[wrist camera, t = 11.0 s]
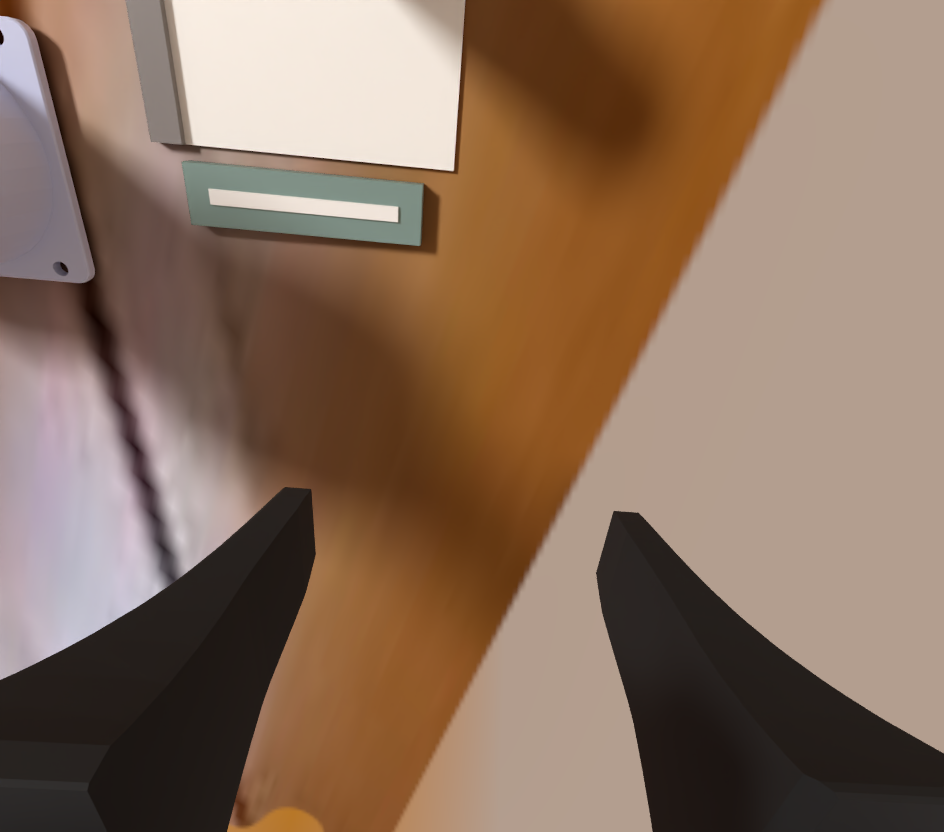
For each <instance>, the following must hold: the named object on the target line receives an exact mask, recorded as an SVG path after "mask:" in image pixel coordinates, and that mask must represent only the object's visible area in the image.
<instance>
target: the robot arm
mask: <svg viewBox="0 0 944 832" xmlns="http://www.w3.org/2000/svg"><path fill="white" fill-rule="evenodd" d="M0 30H1V32H2V34H3V36H4V43H3V44H2V45H1V44H0V276H2V277H14V278H25V279H37V280H48V281H59V282H71V283H85V282H87V281H89V280H91V279H92V278H93V277H94V275H95V268H94V264H93V260H92V256H91V252H90V248H89V244H88V240H87V236H86V232H85V228H84V225H83V221H82V217H81V213H80V209H79V205H78V201H77V197H76V193H75V189H74V185H73V181H72V177H71V173H70V169H69V165H68V161H67V157H66V153H65V149H64V145H63V141H62V137H61V133H60V129H59V125H58V121H57V117H56V113H55V109H54V105H53V101H52V97H51V94H50V90H49V86H48V82H47V78H46V74H45V70H44V66H43V62H42V58H41V54H40V50H39V46H38V42H37V39H36V36H35V34H34V32H33V31H32V30H31V28H30V27H29V26H28V25H27V24H26V23H24V22H23V21H21V20H18V19H15V18H10V17H3V16H0ZM60 262H62V263H64V264H65V265H66V266H67V268H68V273H67V272H65V271H64V270H63V269H62V268H61V266H60ZM315 555H316V552H315V537H314V523H313V509H312V494H311V489H302V488H288V487H285V488H283V489H282V490H281V491H280V492H279V493H278V494H277V495H275V496H274V497H273V498H272V499H271V500H270V501H269V502H268V503H267V504H266V505H265V506H264V507H263V508H262V509H261V510H260V511H258V512H257V513H256V514H255V515H254V516H253V517H252V518H251V519H250V520H249V521H248V522H247V523H246V524H244V525H243V526H242V527H241V528H240V529H239V530H238V531H237V532H235V533H234V534H233V535H232V536H231V537H230V538H229V539H227V540H226V541H225V542H224V543H223V544H222V545H221V546H219V547H218V548H217V549H216V550H215V551H213V552H212V553H211V554H210V555H208V556H207V557H206V558H205V559H203V560H202V561H201V562H200V563H198V564H197V565H196V566H195V567H193V568H192V569H191V570H190V571H188V572H187V573H186V574H185V575H183V576H182V577H180V578H179V579H178V580H176V581H175V582H174V583H172V584H171V585H170V586H168V587H167V588H165V589H164V590H162V591H161V592H159V593H158V594H157V595H155V596H154V597H152V598H151V599H149V600H148V601H146V602H145V603H143V604H142V605H140V606H138V607H137V608H135V609H133V610H132V611H130V612H128V613H127V614H125V615H123V616H122V617H120V618H118V619H117V620H115V621H113V622H112V623H110V624H108V625H107V626H105V627H103V628H102V629H100V630H98V631H97V632H95V633H93V634H91V635H90V636H88V637H86V638H84V639H82V640H80V641H79V642H77V643H75V644H73V645H71V646H69V647H67V648H65V649H64V650H62V651H60V652H58V653H56V654H54V655H52V656H50V657H48V658H46V659H44V660H42V661H40V662H38V663H36V664H34V665H32V666H30V667H28V668H26V669H23V670H21V671H19V672H17V673H15V674H13V675H11V676H8V677H6V678H4V679H2V680H0V832H227V829H228V825H229V821H230V818H231V814H232V810H233V806H234V802H235V798H236V795H237V791H238V788H239V784H240V780H241V777H242V773H243V769H244V766H245V762H246V759H247V755H248V751H249V748H250V744H251V741H252V738H253V734H254V731H255V727H256V724H257V721H258V717H259V714H260V710H261V707H262V704H263V701H264V698H265V695H266V692H267V690H268V687H269V684H270V681H271V679H272V676H273V674H274V671H275V669H276V666H277V664H278V661H279V659H280V656H281V654H282V651H283V649H284V646H285V644H286V641H287V639H288V636H289V634H290V632H291V629H292V627H293V624H294V622H295V619H296V616H297V614H298V611H299V609H300V606H301V604H302V601H303V599H304V596H305V593H306V590H307V586H308V582H309V579H310V575H311V571H312V567H313V563H314V559H315ZM596 574H597V582H598V589H599V596H600V602H601V608H602V613H603V617H604V620H605V624H606V628H607V631H608V635H609V638H610V642H611V645H612V648H613V652H614V655H615V659H616V662H617V665H618V669H619V672H620V675H621V679H622V682H623V685H624V689H625V693H626V696H627V699H628V703H629V707H630V711H631V714H632V718H633V723H634V728H635V733H636V738H637V743H638V749H639V753H640V759H641V764H642V769H643V776H644V782H645V787H646V793H647V799H648V805H649V811H650V817H651V823H652V830H653V832H944V753H942V752H940V751H938V750H936V749H935V748H933V747H931V746H929V745H928V744H926V743H924V742H922V741H921V740H919V739H917V738H915V737H913V736H912V735H910V734H908V733H906V732H905V731H903V730H901V729H899V728H898V727H896V726H894V725H892V724H890V723H889V722H887V721H885V720H884V719H882V718H880V717H879V716H877V715H875V714H874V713H872V712H871V711H869V710H867V709H866V708H864V707H863V706H861V705H859V704H858V703H856V702H854V701H853V700H852V699H850V698H848V697H847V696H845V695H844V694H842V693H841V692H839V691H838V690H836V689H835V688H833V687H832V686H830V685H829V684H827V683H826V682H824V681H823V680H821V679H820V678H819V677H817V676H816V675H814V674H813V673H812V672H810V671H809V670H807V669H806V668H805V667H803V666H802V665H801V664H799V663H798V662H796V661H795V660H794V659H792V658H791V657H789V656H788V655H787V654H785V653H784V652H783V651H782V650H780V649H779V648H778V647H776V646H775V645H774V644H773V643H771V642H770V641H769V640H768V639H767V638H765V637H764V636H763V635H762V634H760V633H759V632H758V631H757V630H756V629H754V628H753V627H752V626H751V625H749V624H748V623H747V622H746V621H745V620H744V619H743V618H741V617H740V616H739V615H738V614H737V613H736V612H735V611H733V610H732V609H731V608H730V607H729V606H728V605H727V604H726V603H725V602H724V601H723V600H722V599H721V598H720V597H718V596H717V595H716V594H715V593H714V592H713V591H712V590H711V589H710V588H709V587H708V586H707V585H706V584H705V583H704V582H703V581H702V580H701V579H700V578H699V577H698V576H697V575H696V574H695V573H694V572H693V571H692V570H691V569H690V568H689V567H688V566H687V565H686V564H685V562H684V561H683V560H682V559H681V558H680V557H679V556H678V555H677V554H676V553H675V552H674V551H673V550H672V549H671V547H670V546H669V545H668V544H667V543H666V542H665V541H664V540H663V539H662V538H661V536H660V535H659V534H658V533H657V532H656V531H655V530H654V529H653V528H652V527H651V525H650V524H649V523H648V522H647V521H646V520H645V519H644V518H643V517H642V516H641V515H640V514H639V513H633V512H619V511H614V512H613V515H612V519H611V522H610V526H609V530H608V533H607V536H606V540H605V544H604V548H603V551H602V554H601V558H600V561H599V565H598V569H597V572H596Z"/></svg>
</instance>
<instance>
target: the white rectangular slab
mask: <svg viewBox="0 0 944 832" xmlns="http://www.w3.org/2000/svg"><path fill="white" fill-rule="evenodd" d="M126 6H127V12H128V17H129V23H130V28H131V34H132V39H133V45H134V50H135V56H136V62H137V67H138V73H139V78H140V84H141V89H142V95H143V100H144V106H145V112H146V117H147V123H148V128H149V134H150V139H151V142H160V143H170V144H180V145H184V144H188V145H198V146H208V147H218V148H228V149H238V150H248V151H258V152H268V153H278V154H288V155H298V156H308V157H318V158H328V159H338V160H348V161H358V162H368V163H378V164H388V165H398V166H408V167H418V168H428V169H438V170H448V171H454V160H455V145H456V130H457V116H458V101H459V86H460V72H461V57H462V42H463V28H464V13H465V0H126Z"/></svg>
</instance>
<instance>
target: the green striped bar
mask: <svg viewBox="0 0 944 832" xmlns="http://www.w3.org/2000/svg"><path fill="white" fill-rule="evenodd" d="M182 167H183V174H184V180H185V186H186V193H187V199H188V205H189V212H190V218H191V225H201V226H212V227H222V228H233V229H244V230H255V231H265V232H276V233H287V234H297V235H308V236H319V237H330V238H340V239H351V240H362V241H372V242H383V243H394V244H405V245H415V246H420V245H421V242H422V219H423V196H424V183H414V182H403V181H393V180H383V179H373V178H363V177H353V176H343V175H332V174H322V173H312V172H302V171H292V170H282V169H272V168H261V167H251V166H241V165H231V164H221V163H211V162H201V161H183V162H182Z"/></svg>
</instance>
